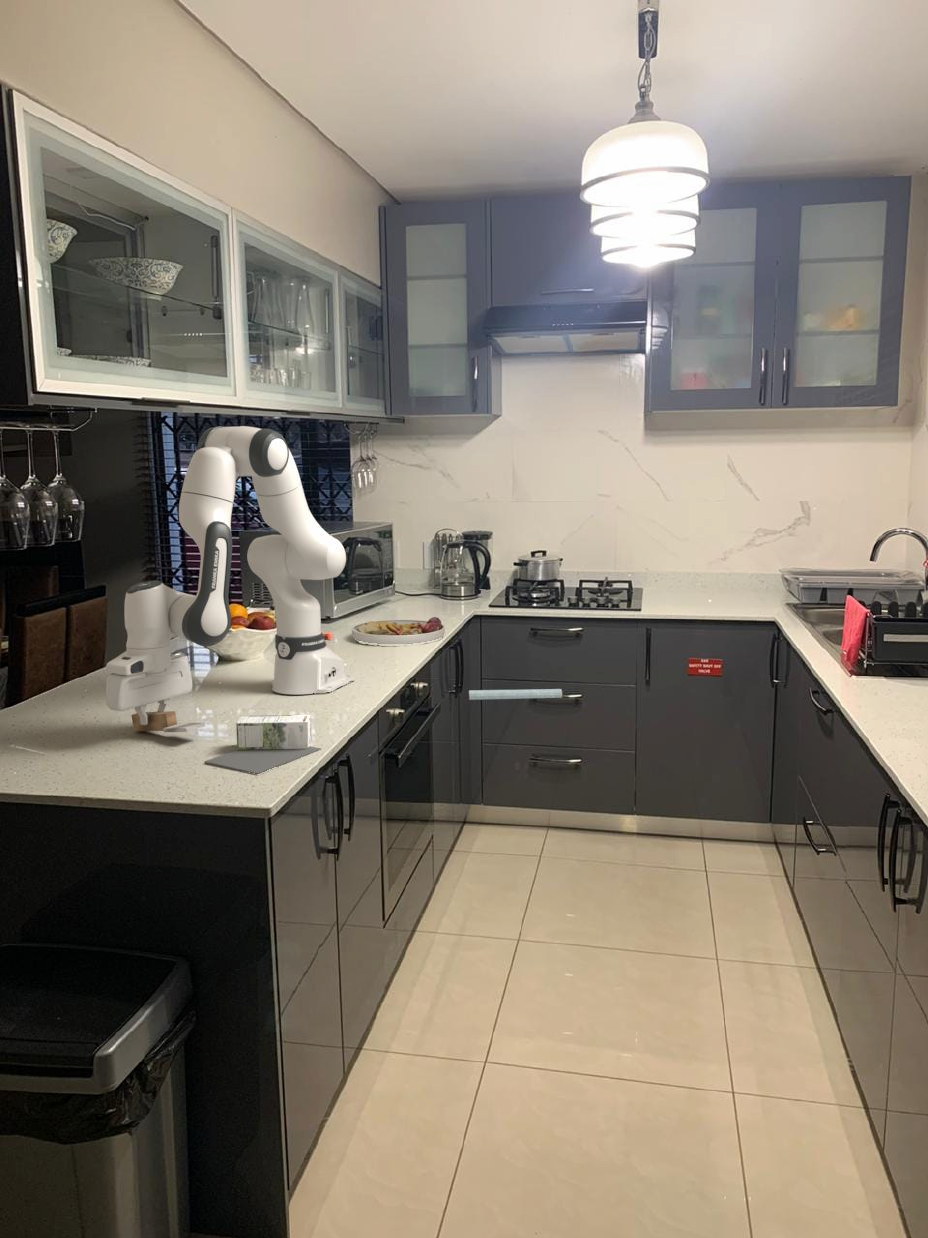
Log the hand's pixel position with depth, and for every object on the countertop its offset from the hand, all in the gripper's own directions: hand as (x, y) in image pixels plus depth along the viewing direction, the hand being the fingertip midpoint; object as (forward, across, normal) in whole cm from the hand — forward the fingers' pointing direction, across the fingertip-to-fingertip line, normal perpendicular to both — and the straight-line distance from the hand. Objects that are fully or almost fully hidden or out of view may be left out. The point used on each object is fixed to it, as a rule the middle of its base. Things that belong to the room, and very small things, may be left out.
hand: (153, 722), depth 204 cm
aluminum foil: (+3, -63, +54) cm, 83 cm away
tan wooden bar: (+1, 0, +5) cm, 5 cm away
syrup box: (-1, -1, +24) cm, 24 cm away
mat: (+3, 0, +32) cm, 32 cm away
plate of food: (+3, -114, -17) cm, 115 cm away
